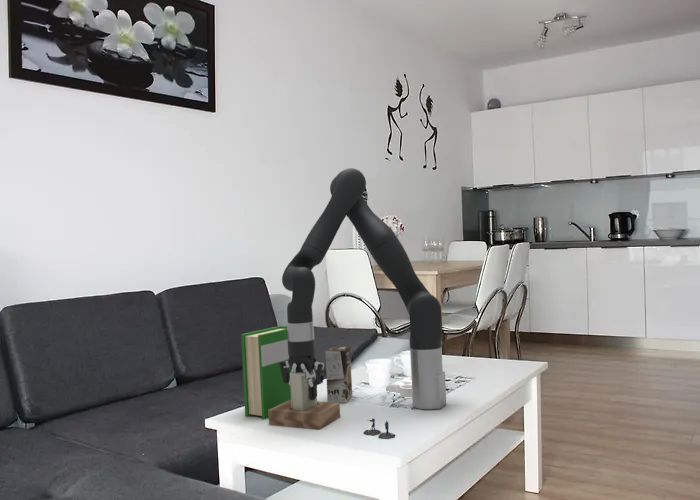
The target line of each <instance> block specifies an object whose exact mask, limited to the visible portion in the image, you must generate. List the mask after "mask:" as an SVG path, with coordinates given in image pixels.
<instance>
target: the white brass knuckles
mask: <svg viewBox="0 0 700 500" xmlns="http://www.w3.org/2000/svg"><path fill="white" fill-rule="evenodd" d="M385 391H386V392H387V391H389V392H396V393H400V395H401V396H403V397H412V379H411V376H410V377H409V376H408V377H404V378H402V379H401V380H397V381H396V382H393V383H390V384H388V385H386V387H385ZM400 395H399V396H400Z"/></svg>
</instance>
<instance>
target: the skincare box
mask: <svg viewBox="0 0 700 500" xmlns="http://www.w3.org/2000/svg"><path fill="white" fill-rule="evenodd" d="M314 372H315V373H316V369H315V370H314ZM309 374H310V375H312V374H313V371H312V372H311V373H309ZM309 387H310V385H309V382H308V380H307V379H306V377H305V374H304V373H301V372H296V373H290V389H291V407H292V410H300V411H308V410H310V409H311V408H313V407H315V406H317V401H318V396H317V397H316V399H315V400H310V392H309Z"/></svg>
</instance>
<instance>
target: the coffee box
mask: <svg viewBox="0 0 700 500" xmlns="http://www.w3.org/2000/svg"><path fill="white" fill-rule="evenodd" d="M325 364H326V366H325V372H326V373H325V374H326V375H325V376H326V395H327V401H326V402H332V403H340V404H346V403H348V402H349V400H350V399H352V397H353V379H352V378H353V377H352V363H351V346H350V345H349V346H348V345H345V346H344V345H343V346H342V345H341V346H331V347H329V348H328V349H327V350H325Z"/></svg>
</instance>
